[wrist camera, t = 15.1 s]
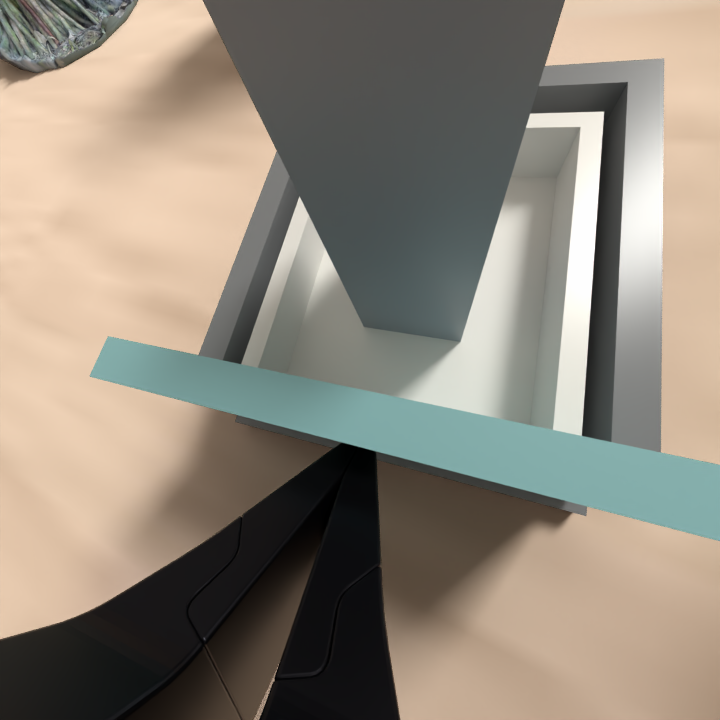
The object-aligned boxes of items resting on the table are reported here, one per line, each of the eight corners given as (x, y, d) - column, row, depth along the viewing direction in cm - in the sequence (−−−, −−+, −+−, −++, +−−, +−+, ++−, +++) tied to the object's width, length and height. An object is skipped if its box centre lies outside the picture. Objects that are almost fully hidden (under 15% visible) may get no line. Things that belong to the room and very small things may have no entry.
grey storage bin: (574, 511, 13) (659, 544, 8) (245, 423, 17) (176, 412, 12) (598, 167, 17) (663, 58, 12) (330, 163, 21) (303, 81, 16)
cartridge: (480, 228, 15) (636, -428, 4) (460, 341, 14) (615, -170, 2) (390, 222, 16) (310, -295, 5) (363, 326, 15) (169, -67, 4)
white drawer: (576, 496, 12) (807, 563, 5) (243, 411, 16) (89, 376, 9) (598, 179, 15) (749, -62, 8) (322, 173, 19) (261, 6, 12)
